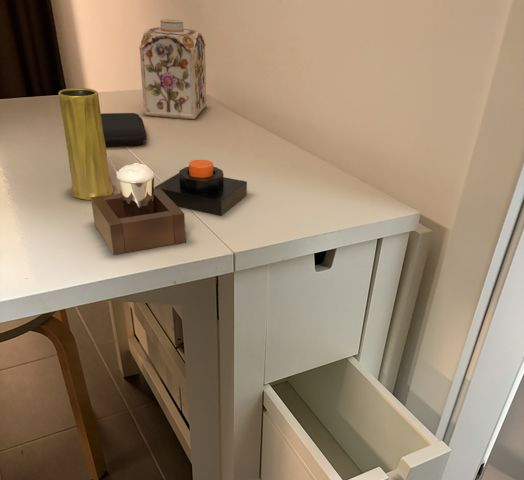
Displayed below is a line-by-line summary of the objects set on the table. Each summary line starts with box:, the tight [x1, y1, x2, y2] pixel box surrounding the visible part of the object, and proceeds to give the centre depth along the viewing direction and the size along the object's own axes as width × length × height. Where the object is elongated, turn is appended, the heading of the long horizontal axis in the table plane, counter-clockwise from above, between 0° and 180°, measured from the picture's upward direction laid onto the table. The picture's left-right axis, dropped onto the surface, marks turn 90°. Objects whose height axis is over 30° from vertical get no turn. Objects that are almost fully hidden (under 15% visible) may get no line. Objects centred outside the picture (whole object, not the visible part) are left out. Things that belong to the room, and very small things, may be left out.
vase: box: [58, 87, 114, 201], centre depth 80 cm, size 6×6×14 cm
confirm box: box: [154, 166, 248, 216], centre depth 83 cm, size 11×9×4 cm
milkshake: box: [108, 156, 155, 218], centre depth 70 cm, size 4×5×10 cm
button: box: [188, 159, 214, 178], centre depth 82 cm, size 4×4×2 cm
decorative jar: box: [138, 18, 207, 120], centre depth 120 cm, size 12×12×18 cm
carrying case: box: [101, 112, 148, 147], centre depth 107 cm, size 11×3×15 cm
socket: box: [90, 188, 186, 256], centre depth 72 cm, size 10×10×4 cm
